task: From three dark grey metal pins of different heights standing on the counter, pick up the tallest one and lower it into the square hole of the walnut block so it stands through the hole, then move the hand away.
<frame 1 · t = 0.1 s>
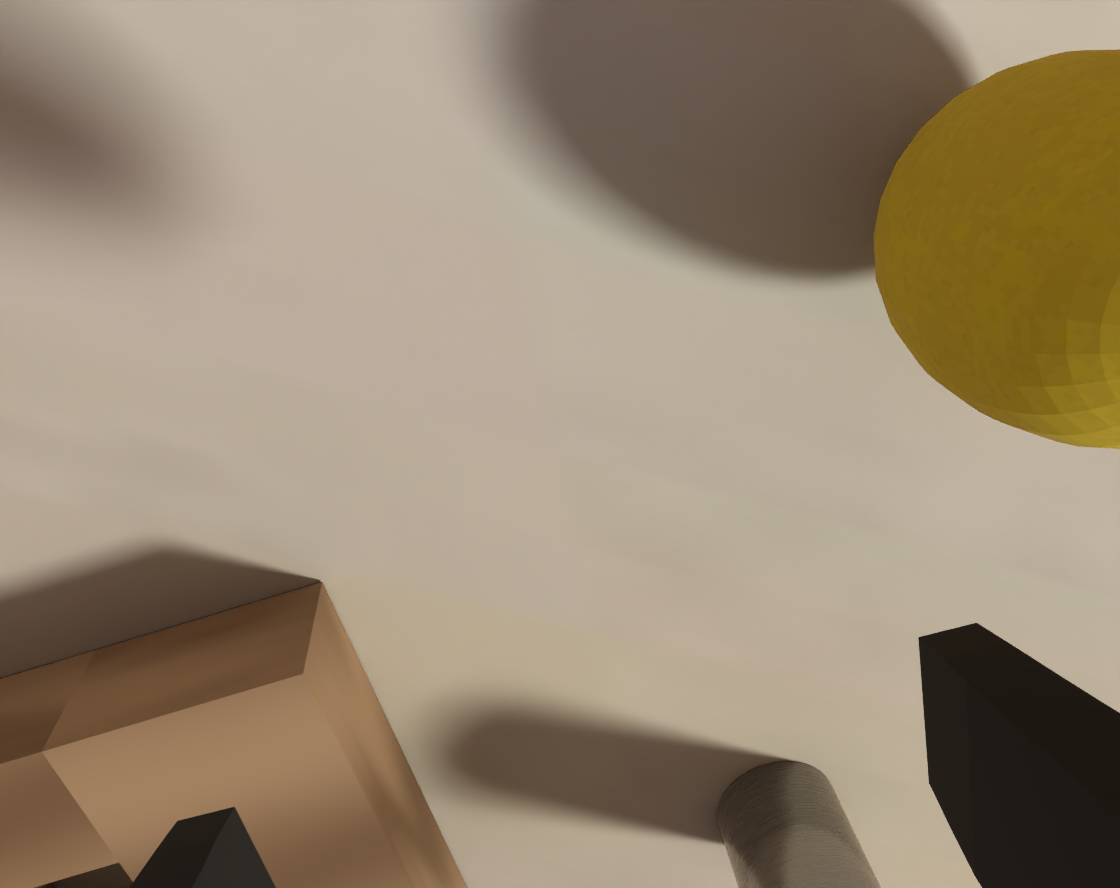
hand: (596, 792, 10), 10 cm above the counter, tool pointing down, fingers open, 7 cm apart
lemon: (949, 194, 18), on the counter
hole block: (116, 839, 23), on the counter
pin tall: (775, 807, 24), on the counter
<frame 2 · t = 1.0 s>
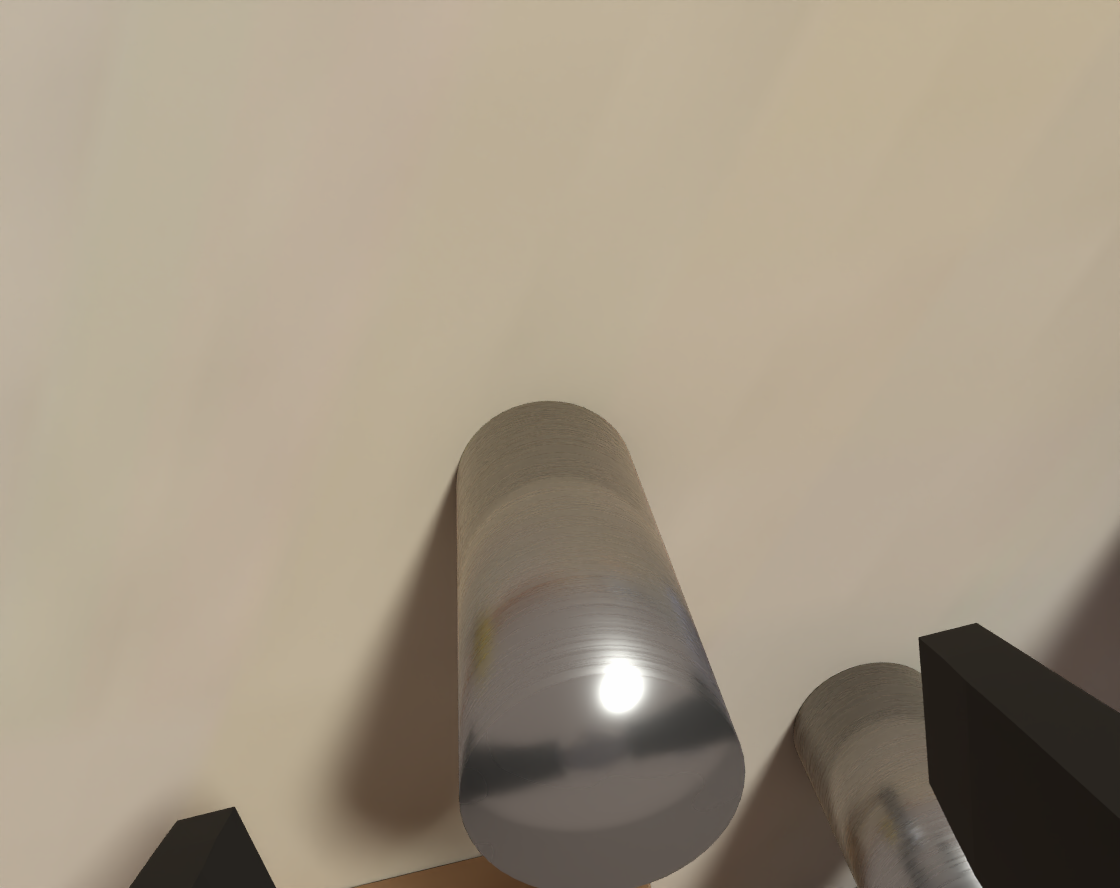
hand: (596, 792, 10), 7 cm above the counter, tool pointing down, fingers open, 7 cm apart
pin medium: (866, 723, 19), on the counter
pin tall: (545, 483, 16), on the counter
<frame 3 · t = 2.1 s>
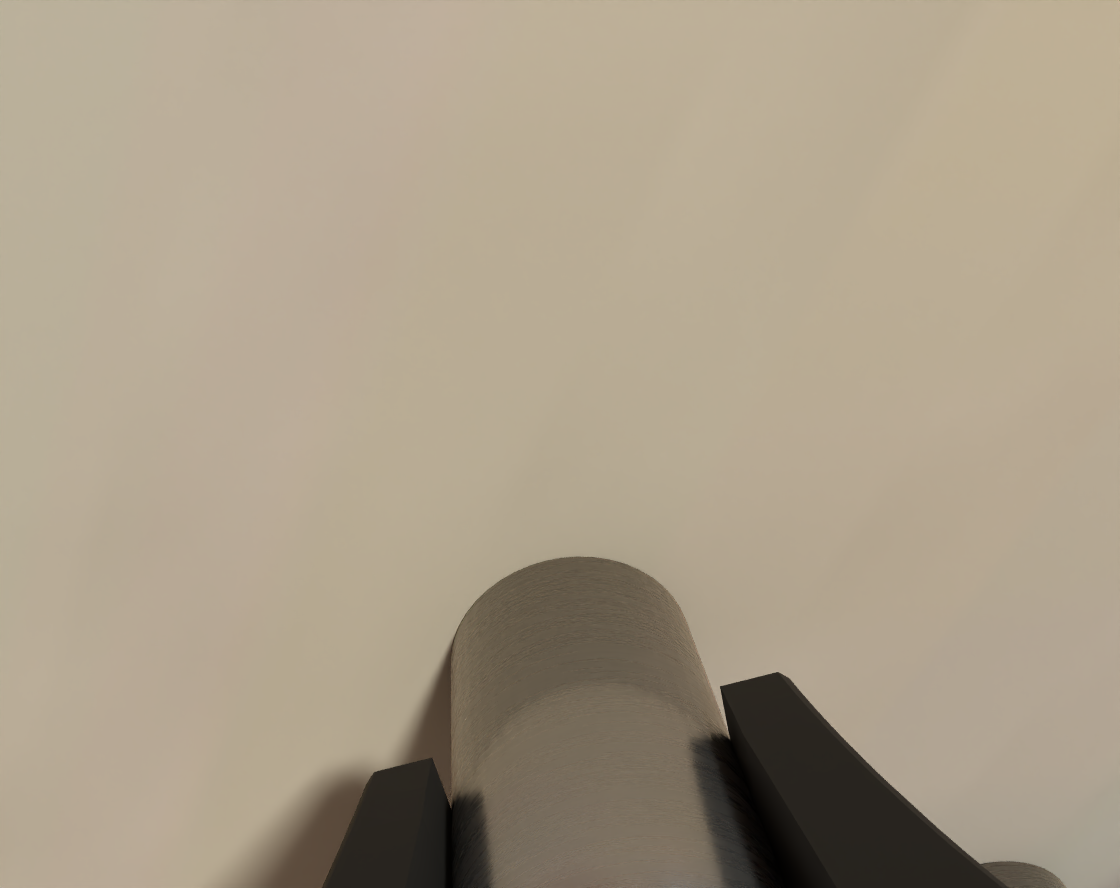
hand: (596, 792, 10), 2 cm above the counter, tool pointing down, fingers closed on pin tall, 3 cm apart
pin tall: (571, 659, 12), on the counter, touching gripper
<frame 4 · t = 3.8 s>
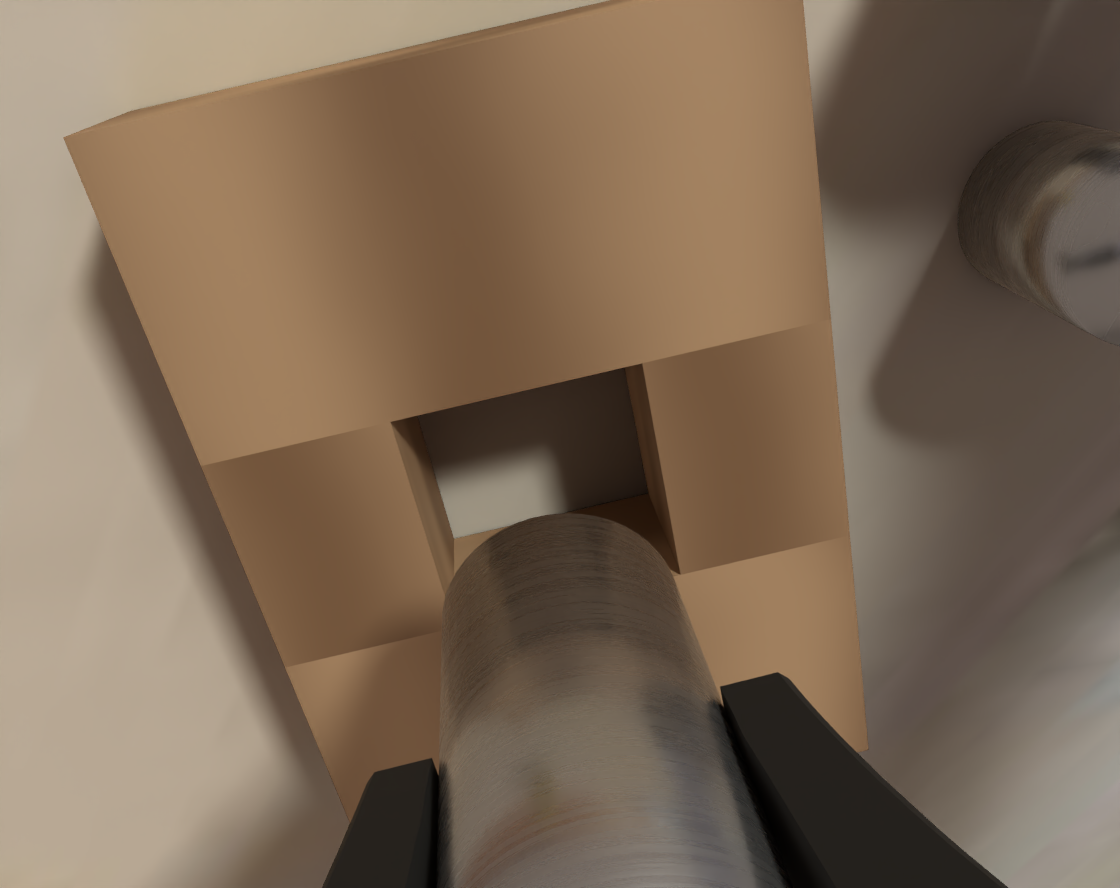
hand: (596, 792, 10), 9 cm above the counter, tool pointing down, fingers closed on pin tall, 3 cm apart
pin short: (1037, 206, 18), on the counter
hole block: (529, 427, 19), on the counter
pin tall: (561, 619, 12), point 7 cm above the counter, touching gripper
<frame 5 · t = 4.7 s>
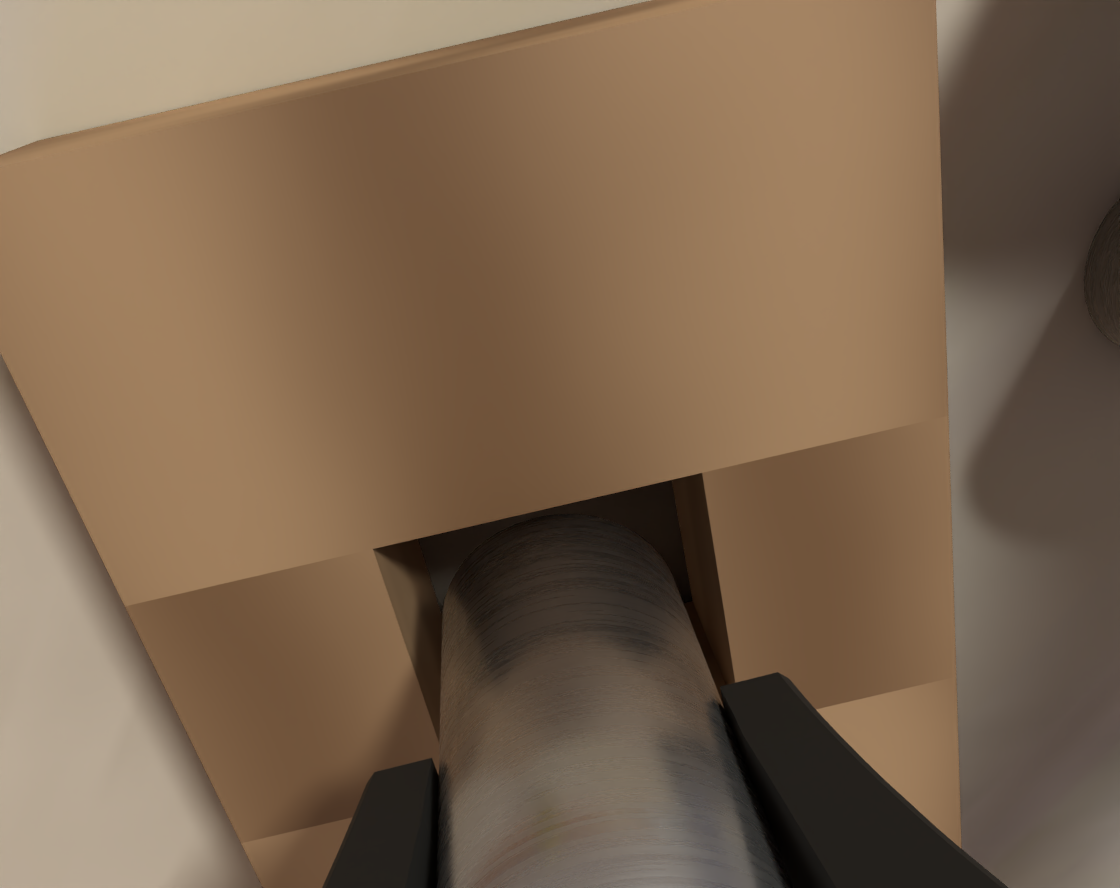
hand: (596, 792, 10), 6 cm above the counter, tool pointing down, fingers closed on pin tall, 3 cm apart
hole block: (548, 526, 15), on the counter
pin tall: (561, 619, 12), point 3 cm above the counter, touching gripper
when the fingers open (4 cm above the counter, at t = 5.4 s): pin tall drops 1 cm, resting in hole block.
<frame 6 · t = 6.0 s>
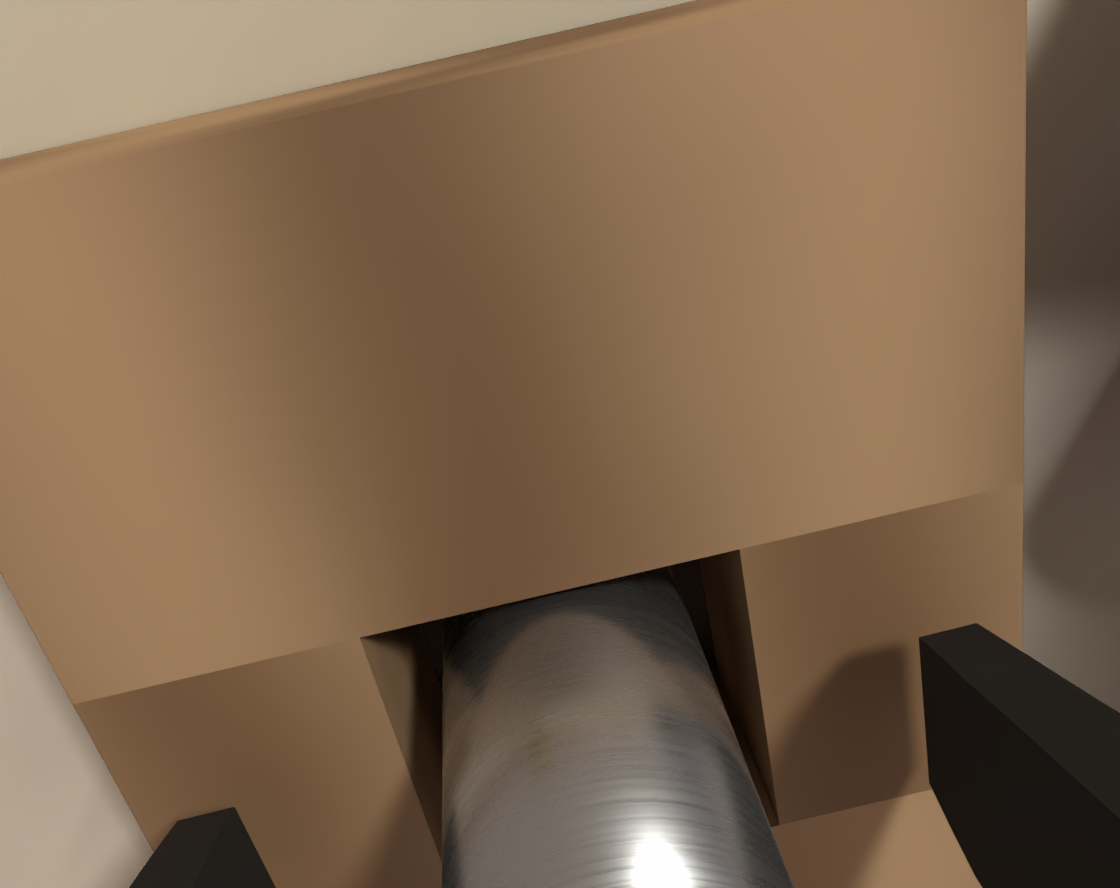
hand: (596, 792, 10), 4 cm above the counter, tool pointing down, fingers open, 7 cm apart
hole block: (558, 589, 14), on the counter
pin tall: (552, 565, 13), resting in hole block
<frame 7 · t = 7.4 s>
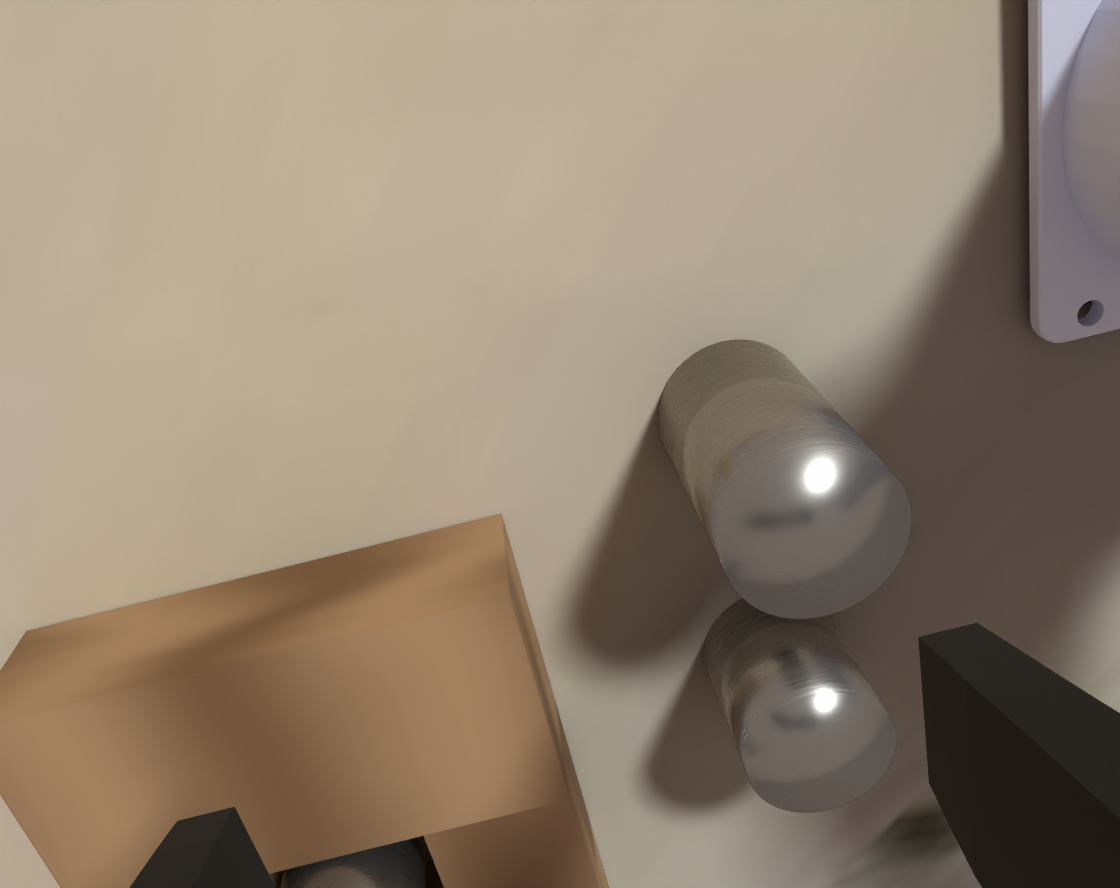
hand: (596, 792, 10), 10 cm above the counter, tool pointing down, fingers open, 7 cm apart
pin short: (768, 645, 22), on the counter
hole block: (367, 815, 23), on the counter
pin medium: (731, 410, 20), on the counter
pin tall: (362, 803, 23), resting in hole block
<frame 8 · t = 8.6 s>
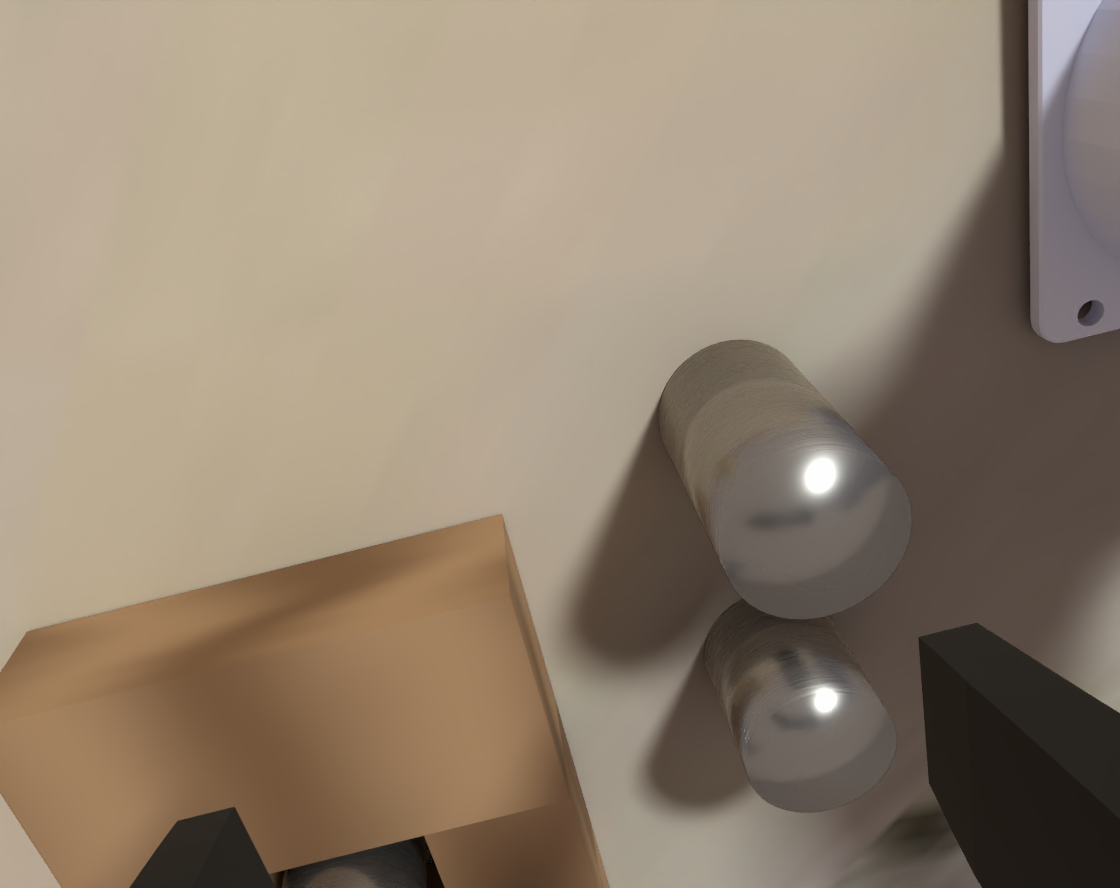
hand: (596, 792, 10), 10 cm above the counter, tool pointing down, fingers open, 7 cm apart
pin short: (768, 645, 22), on the counter
hole block: (367, 815, 23), on the counter
pin medium: (732, 411, 20), on the counter
pin tall: (362, 803, 23), resting in hole block
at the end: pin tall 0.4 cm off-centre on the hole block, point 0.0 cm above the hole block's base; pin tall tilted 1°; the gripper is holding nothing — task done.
